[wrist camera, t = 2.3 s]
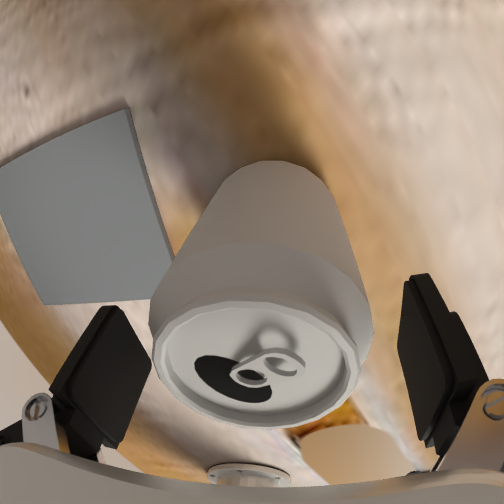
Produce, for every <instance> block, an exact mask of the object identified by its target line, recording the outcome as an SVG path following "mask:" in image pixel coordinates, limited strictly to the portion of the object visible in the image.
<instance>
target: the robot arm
mask: <svg viewBox="0 0 504 504" xmlns="http://www.w3.org/2000/svg"><path fill="white" fill-rule="evenodd" d="M397 349H398V355H399V358H400V362H401V366H402V369H403V373H404V377H405V381H406V385H407V389H408V393H409V398H410V402H411V406H412V411H413V416H414V420H415V425H416V430H417V435H418V439H419V440H420V441H422V440H424V442H425V447H426V448H429V447H433V446H435V450H436V454H437V455H439V457H438V459H437V460H436V462H435V464H434V465H433V467H432V469H431V470H430V472H426V473H420V474H414V475H408V476H401V477H395V478H390V479H383V480H376V481H369V482H361V483H352V484H342V485H341V484H340V485H329V486H313V487H290V486H291V478H290V476H289V475H287V474H286V473H284V472H282V471H280V470H277V469H273V468H270V467H265V466H259V465H252V464H239V463H233V464H221V465H216V466H213V467H211V468H210V469H209V470H208V473H207V478H208V480H209V481H210V482H211V483H213V484H207V483H198V482H191V481H183V480H177V479H170V478H165V477H159V476H154V475H149V474H144V473H139V472H134V471H130V470H126V469H122V468H118V467H113V466H110V465H106V463H105V460H104V457H103V454H102V451H101V448H100V447H101V444H103V445H104V446H105V447H110V448H113V449H117V447H118V445H119V443H120V442H121V441H122V440H123V439H124V436H125V433H126V431H127V428H128V426H129V423H130V420H131V418H132V415H133V413H134V410H135V408H136V405H137V403H138V400H139V398H140V395H141V393H142V390H143V388H144V385H145V383H146V380H147V378H148V375H149V373H150V371H151V367H152V363H151V359H150V358H149V356H148V354H147V353H146V351H145V349H144V347H143V346H142V344H141V342H140V341H139V339H138V337H137V335H136V334H135V332H134V330H133V328H132V326H131V325H130V323H129V321H128V319H127V317H126V315H125V313H124V312H123V310H121V309H120V308H119V307H118V306H116V305H110V306H102V307H101V308H100V309H99V310H98V312H97V313H96V315H95V316H94V317H93V319H92V320H91V322H90V323H89V325H88V327H87V328H86V330H85V331H84V333H83V334H82V336H81V337H80V339H79V340H78V342H77V343H76V345H75V347H74V348H73V350H72V351H71V353H70V355H69V356H68V358H67V359H66V361H65V363H64V364H63V366H62V368H61V369H60V371H59V373H58V374H57V376H56V378H55V379H54V381H53V383H52V384H51V386H50V388H49V390H50V392H51V393H52V394H53V397H52V398H51V397H50V396H49V395H48V394H46V393H38V394H35V395H34V396H32V397H31V398H30V399H29V400H28V401H27V402H26V404H25V405H24V407H23V410H22V419H21V420H19V421H18V422H16V423H14V424H12V425H10V426H8V427H7V428H5V429H3V430H1V431H0V504H504V379H492V380H490V381H489V379H488V376H487V374H486V372H485V369H484V367H483V365H482V362H481V360H480V358H479V356H478V354H477V351H476V349H475V347H474V345H473V343H472V341H471V339H470V337H469V335H468V333H467V331H466V329H465V327H464V325H463V323H462V321H461V319H460V317H459V315H458V314H457V313H456V312H449V310H448V308H447V306H446V304H445V302H444V300H443V298H442V296H441V295H440V293H439V291H438V289H437V287H436V285H435V284H434V282H433V280H432V278H431V276H430V275H429V274H428V273H424V274H418V275H411V276H410V278H409V281H405V282H404V289H403V300H402V309H401V318H400V326H399V334H398V341H397Z"/></svg>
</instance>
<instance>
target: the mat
mask: <svg viewBox="0 0 504 504" xmlns="http://www.w3.org/2000/svg"><path fill="white" fill-rule="evenodd" d="M0 214H1V216H2V219H3V221H4V224H5V226H6V229H7V231H8V234H9V236H10V238H11V240H12V243H13V245H14V247H15V249H16V252H17V254H18V256H19V258H20V260H21V262H22V264H23V266H24V268H25V270H26V272H27V274H28V276H29V278H30V280H31V282H32V284H33V286H34V288H35V290H36V292H37V293H38V295H39V297H40V299H41V301H42V302H43V304H44V305H62V304H81V303H99V302H115V301H130V300H144V299H151V297H152V296H153V294H154V292H155V290H156V289H157V287H158V285H159V283H160V282H161V280H162V278H163V277H164V275H165V273H166V272H167V270H168V268H169V267H170V265H171V263H172V262H173V260H174V258H175V257H174V254H173V251H172V248H171V245H170V242H169V239H168V236H167V233H166V230H165V227H164V224H163V221H162V218H161V215H160V212H159V209H158V206H157V203H156V200H155V197H154V193H153V190H152V187H151V184H150V180H149V177H148V174H147V170H146V167H145V164H144V160H143V157H142V153H141V150H140V146H139V143H138V139H137V135H136V132H135V128H134V124H133V121H132V117H131V113H130V109H129V108H126V109H123V110H120V111H117V112H115V113H112V114H109V115H107V116H104V117H102V118H99V119H97V120H95V121H92V122H90V123H87V124H85V125H83V126H81V127H78V128H76V129H74V130H72V131H69V132H67V133H65V134H63V135H61V136H59V137H57V138H54V139H52V140H50V141H48V142H46V143H44V144H42V145H40V146H38V147H36V148H35V149H33V150H31V151H29V152H27V153H25V154H23V155H21V156H20V157H18V158H16V159H14V160H13V161H11V162H9V163H7V164H6V165H4V166H2V167H0Z"/></svg>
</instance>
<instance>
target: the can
mask: <svg viewBox="0 0 504 504" xmlns="http://www.w3.org/2000/svg"><path fill="white" fill-rule="evenodd" d="M149 327H150V331H151V334H152V337H153V349H152V361H153V363H154V366H155V369H156V371H157V374H158V376H159V379H160V380H161V381H162V382H163V384H164V385H165V386H166V387H167V388H168V390H169V391H170V392H171V393H172V394H173V395H174V397H175V398H176V399H178V400H179V401H181V402H182V403H183V404H185V405H186V406H188V407H189V408H190V409H192V410H193V411H195V412H197V413H199V414H201V415H203V416H206V417H208V418H210V419H213V420H215V421H217V422H220V423H224V424H228V425H233V426H237V427H241V428H250V429H266V430H272V429H281V428H290V427H296V426H300V425H303V424H306V423H309V422H312V421H315V420H318V419H320V418H322V417H323V416H325V415H327V414H328V413H330V412H332V411H333V410H335V409H337V408H338V407H340V406H341V405H342V404H343V403H344V401H345V400H346V399H347V398H348V397H349V396H350V395H351V393H352V392H353V391H354V390H355V388H356V385H357V382H358V379H359V375H360V372H361V365H362V364H363V362H364V361H365V360H366V358H367V356H368V353H369V349H370V346H371V342H372V339H373V335H374V328H373V322H372V316H371V311H370V305H369V302H368V298H367V295H366V291H365V288H364V285H363V282H362V278H361V275H360V272H359V269H358V266H357V263H356V259H355V256H354V253H353V250H352V247H351V244H350V241H349V239H348V236H347V233H346V230H345V227H344V224H343V221H342V219H341V216H340V213H339V210H338V208H337V205H336V202H335V199H334V197H333V195H332V194H331V193H330V191H329V190H328V188H327V187H326V185H325V184H324V183H323V181H322V180H321V179H320V178H318V177H317V176H315V175H314V174H313V173H311V172H310V171H309V170H307V169H306V168H304V167H301V166H298V165H295V164H292V163H289V162H286V161H259V162H256V163H253V164H250V165H247V166H244V167H241V168H239V169H238V170H237V171H236V172H234V173H233V174H232V175H230V176H229V177H228V178H226V179H225V180H224V181H223V183H222V184H221V186H220V187H219V189H218V190H217V192H216V193H215V195H214V196H213V198H212V199H211V201H210V202H209V204H208V206H207V207H206V209H205V210H204V212H203V213H202V215H201V216H200V218H199V220H198V221H197V223H196V224H195V226H194V228H193V229H192V231H191V232H190V234H189V236H188V237H187V239H186V240H185V242H184V244H183V245H182V247H181V248H180V250H179V252H178V253H177V255H176V257H175V258H174V260H173V262H172V263H171V265H170V267H169V268H168V270H167V272H166V273H165V275H164V277H163V278H162V280H161V282H160V283H159V285H158V287H157V289H156V290H155V292H154V294H153V296H152V297H151V301H150V312H149Z"/></svg>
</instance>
